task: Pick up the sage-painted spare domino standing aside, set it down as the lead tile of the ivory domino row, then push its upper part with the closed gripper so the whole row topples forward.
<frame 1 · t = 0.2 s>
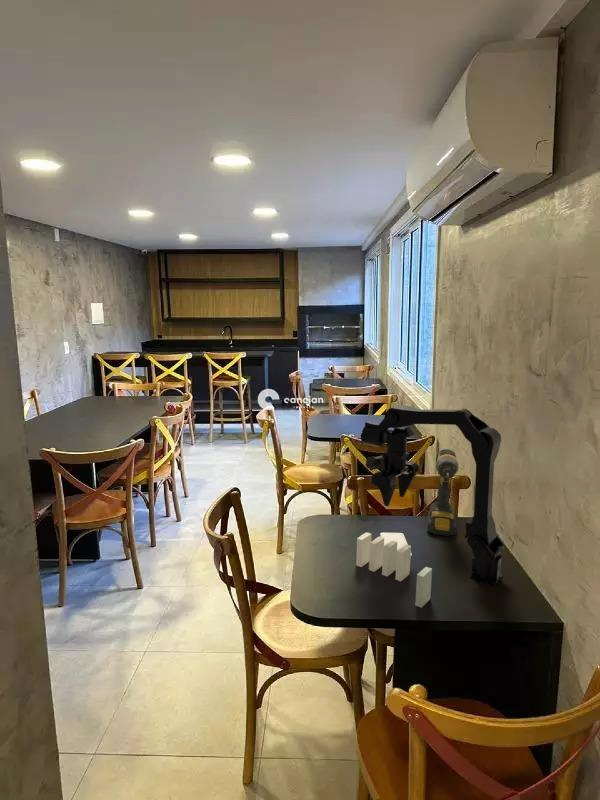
hand: (394, 501, 155), 14 cm above the table, fingers open, 9 cm apart
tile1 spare: (422, 602, 129), on the table
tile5: (363, 563, 148), on the table
tile4: (376, 567, 146), on the table
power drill: (441, 531, 170), on the table
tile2: (402, 576, 141), on the table
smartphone: (395, 546, 160), on the table
tile3: (389, 571, 144), on the table
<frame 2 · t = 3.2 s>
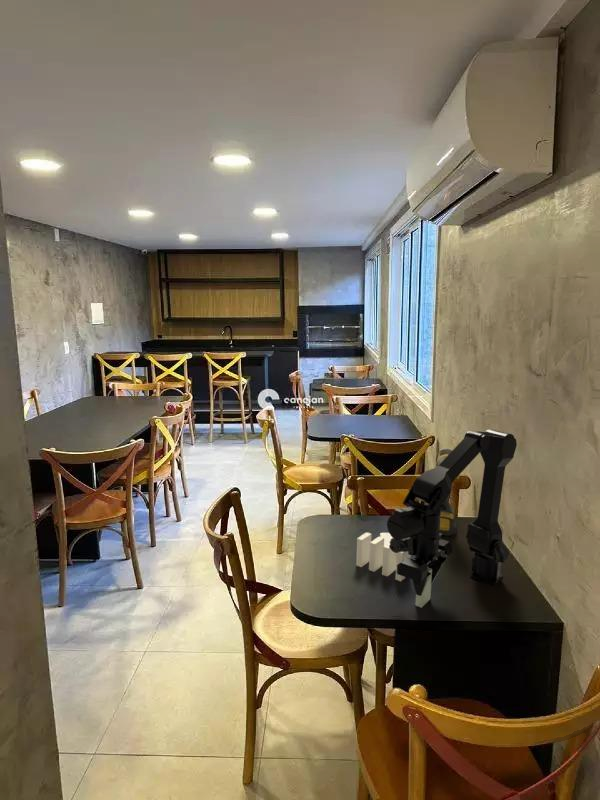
hand: (423, 590, 129), 3 cm above the table, fingers closed on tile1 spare, 5 cm apart
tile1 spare: (422, 602, 129), on the table, touching gripper
everything else where it was.
when the fingers open (4 cm above the table, at t = 6.9 s): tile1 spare stays where it is, on the table.
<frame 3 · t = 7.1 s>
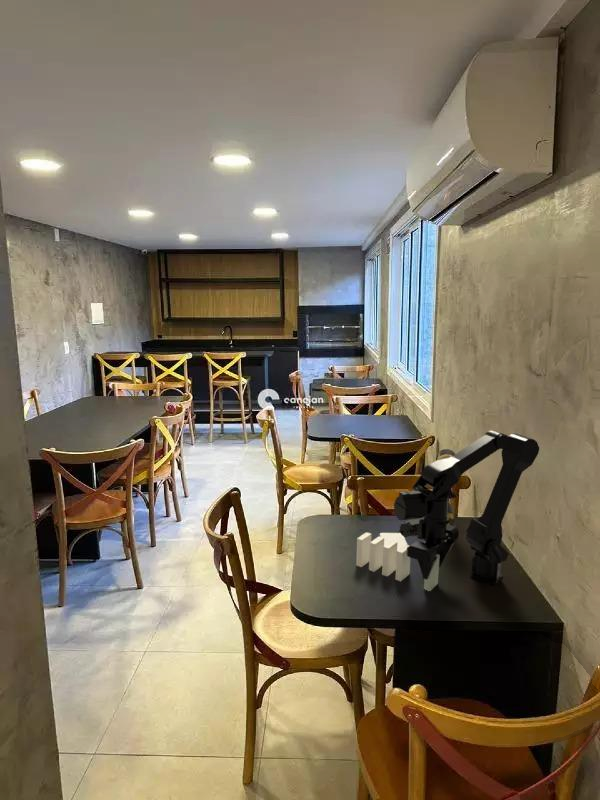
hand: (431, 572, 136), 4 cm above the table, fingers open, 7 cm apart
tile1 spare: (430, 586, 136), on the table
everything else where it was.
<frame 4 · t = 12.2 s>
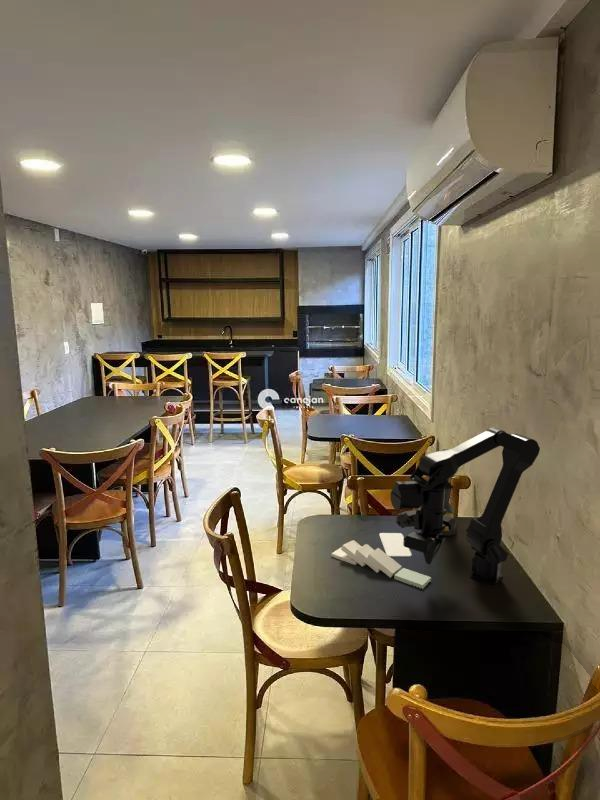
hand: (428, 563, 136), 6 cm above the table, fingers closed
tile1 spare: (426, 584, 137), on the table, tilted 90°
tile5: (360, 561, 149), on the table, tilted 90°
tile4: (368, 561, 147), point 1 cm above the table, tilted 72°, touching tile3
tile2: (396, 571, 142), point 1 cm above the table, tilted 68°, touching tile3
tile3: (383, 567, 144), point 1 cm above the table, tilted 68°, touching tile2, tile4
everything else where it was.
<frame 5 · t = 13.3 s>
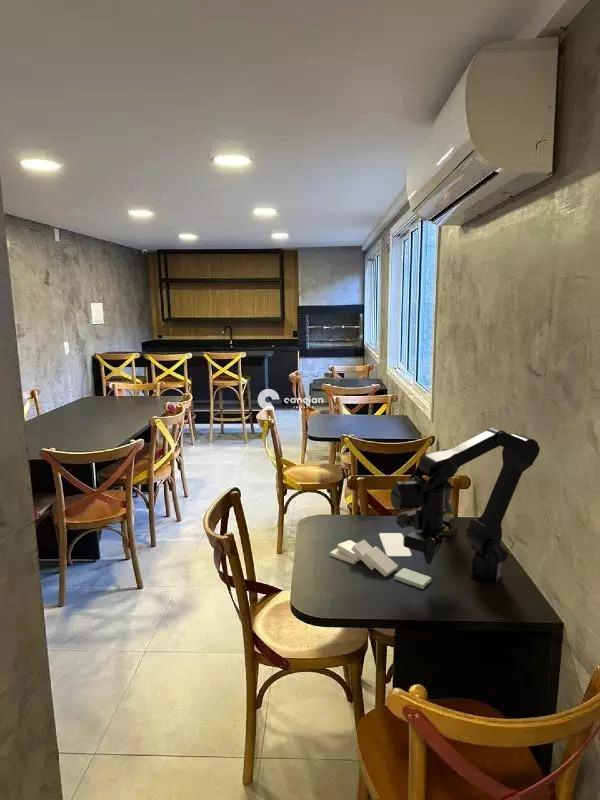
hand: (428, 563, 136), 6 cm above the table, fingers closed
tile4: (363, 556, 149), point 2 cm above the table, tilted 87°, touching tile3
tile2: (391, 571, 142), point 1 cm above the table, tilted 66°, touching tile3
tile3: (378, 564, 146), point 1 cm above the table, tilted 62°, touching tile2, tile4
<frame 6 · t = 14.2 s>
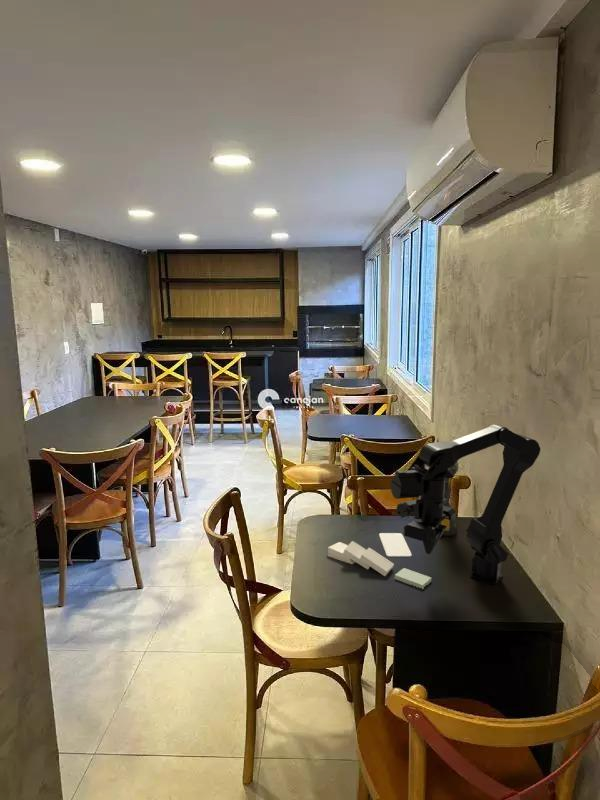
hand: (428, 553, 135), 9 cm above the table, fingers closed
tile4: (355, 556, 149), point 1 cm above the table, tilted 90°
tile3: (372, 563, 146), point 1 cm above the table, tilted 68°, touching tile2
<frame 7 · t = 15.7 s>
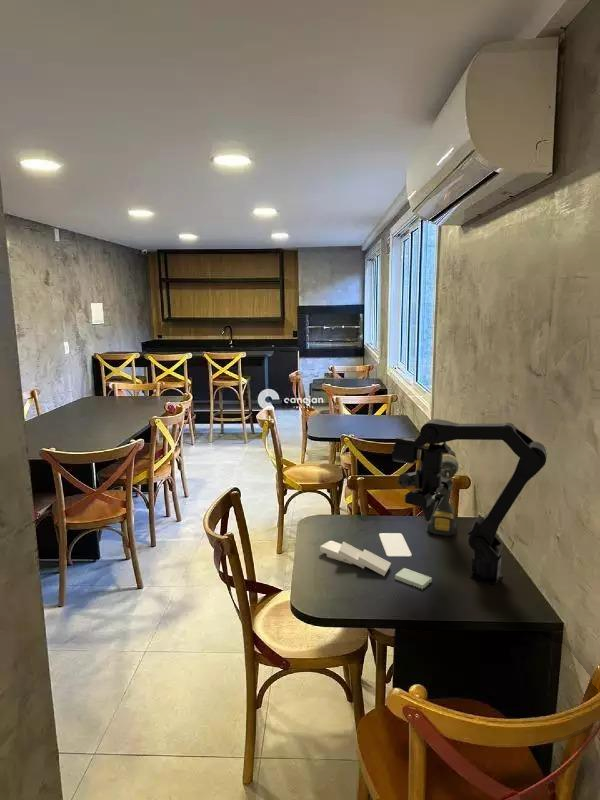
hand: (428, 520, 147), 12 cm above the table, fingers closed
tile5: (355, 560, 150), on the table, tilted 90°, touching tile4
tile4: (348, 554, 150), point 2 cm above the table, tilted 89°, touching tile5
tile3: (366, 561, 147), point 1 cm above the table, tilted 67°, touching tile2
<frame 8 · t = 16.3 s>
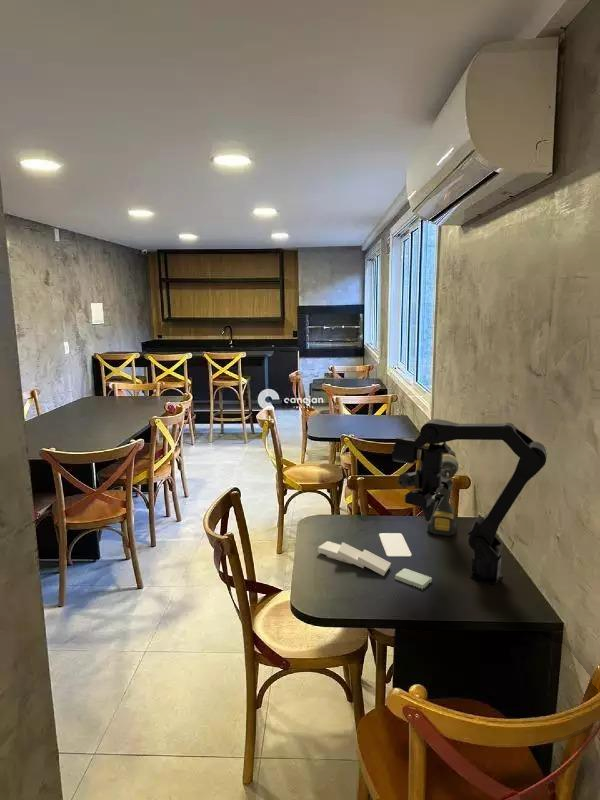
hand: (428, 520, 147), 12 cm above the table, fingers closed
at the end: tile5 tilted 90°; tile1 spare tilted 90°; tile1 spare inside the target area (1.1 cm from its centre), on the table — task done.
